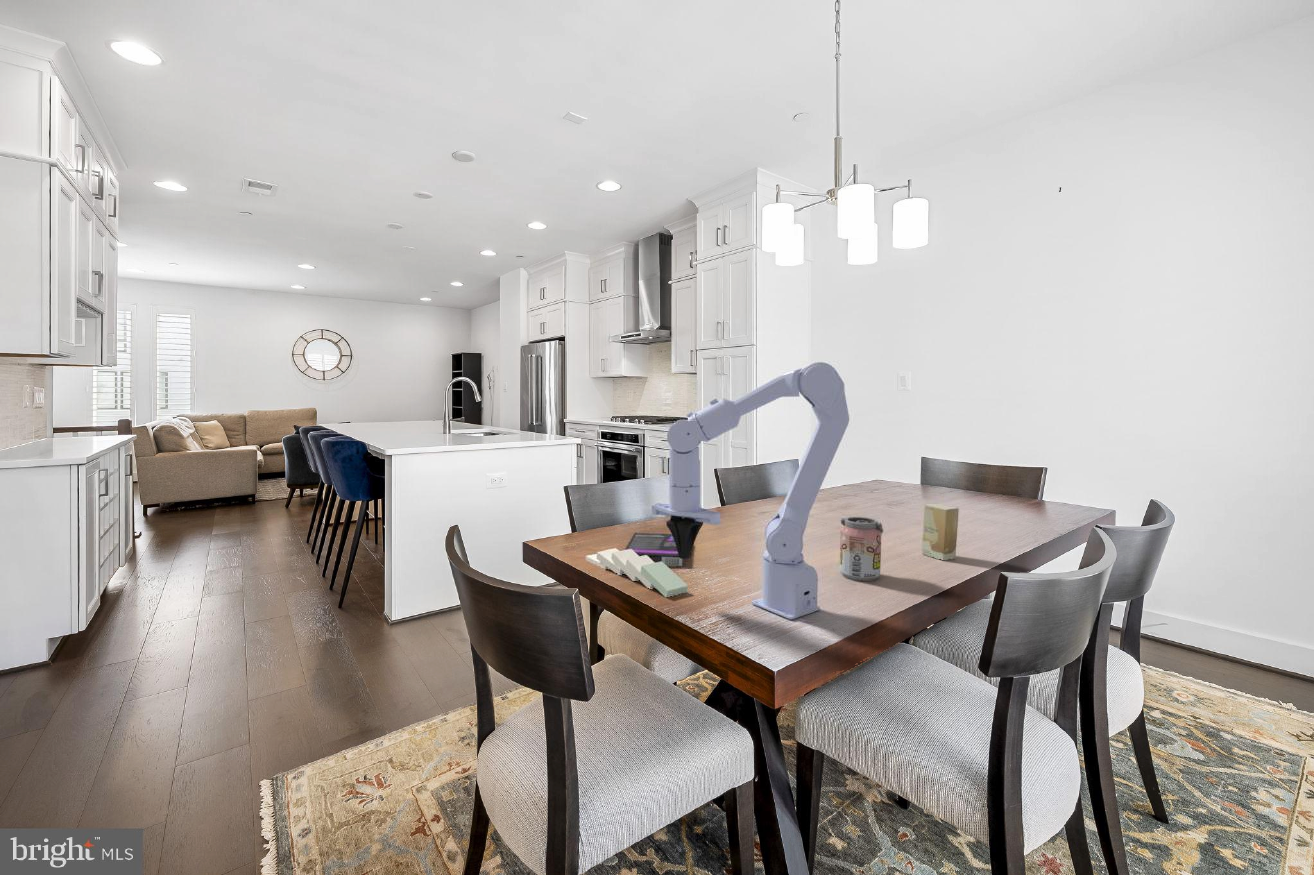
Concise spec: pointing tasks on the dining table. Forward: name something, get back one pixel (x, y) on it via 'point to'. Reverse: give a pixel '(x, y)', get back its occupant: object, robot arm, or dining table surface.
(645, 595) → the dining table surface
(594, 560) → the domino
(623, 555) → the domino
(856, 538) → the paint can
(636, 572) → the domino
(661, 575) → the sage domino
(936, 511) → the skincare box
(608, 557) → the domino
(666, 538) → the box
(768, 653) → the dining table surface
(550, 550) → the dining table surface
